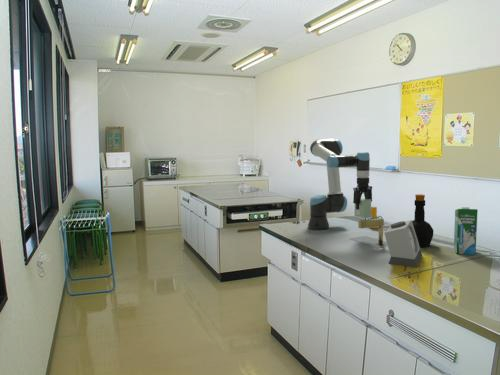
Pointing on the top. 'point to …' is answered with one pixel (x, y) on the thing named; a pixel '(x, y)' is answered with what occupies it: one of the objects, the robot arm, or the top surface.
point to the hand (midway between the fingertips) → (362, 213)
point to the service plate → (370, 241)
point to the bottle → (422, 223)
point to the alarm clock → (403, 244)
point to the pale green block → (364, 208)
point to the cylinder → (374, 215)
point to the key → (373, 223)
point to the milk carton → (465, 231)
